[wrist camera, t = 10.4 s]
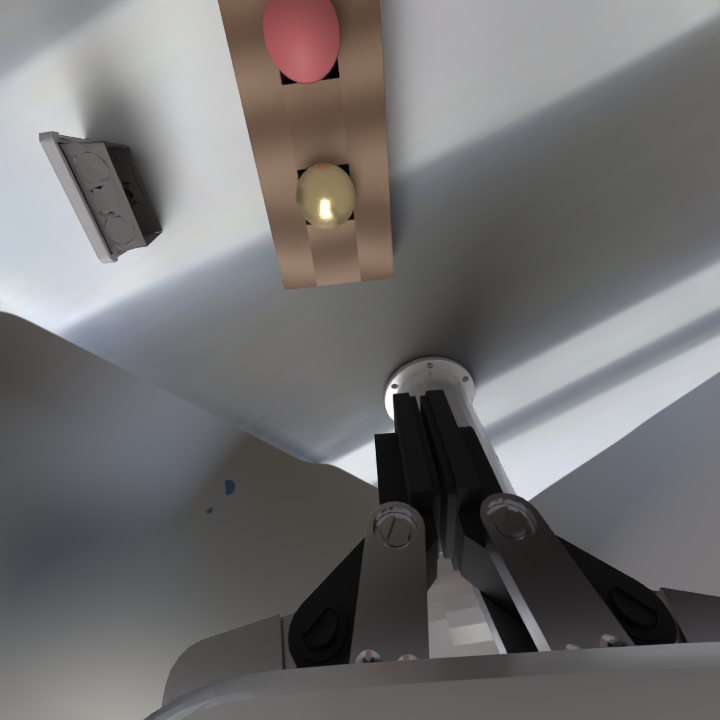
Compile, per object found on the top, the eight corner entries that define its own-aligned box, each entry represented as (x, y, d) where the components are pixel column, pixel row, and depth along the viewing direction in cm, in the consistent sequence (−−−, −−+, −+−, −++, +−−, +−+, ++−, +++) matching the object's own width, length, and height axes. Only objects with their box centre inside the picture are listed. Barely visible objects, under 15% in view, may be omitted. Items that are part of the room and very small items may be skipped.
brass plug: (356, 214, 35) (358, 225, 29) (309, 219, 35) (302, 231, 30) (351, 158, 32) (352, 159, 27) (299, 164, 32) (290, 167, 27)
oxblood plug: (344, 90, 29) (343, 76, 23) (286, 97, 29) (273, 85, 24) (336, 9, 26) (333, -27, 21) (272, 17, 26) (254, -16, 21)
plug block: (388, 263, 38) (393, 277, 33) (291, 274, 38) (284, 289, 34) (367, -99, 24) (372, -153, 20) (216, -78, 24) (188, -126, 20)
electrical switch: (84, 139, 31) (8, 134, 23) (142, 133, 31) (86, 126, 23) (130, 244, 36) (81, 269, 28) (180, 237, 36) (144, 261, 28)
